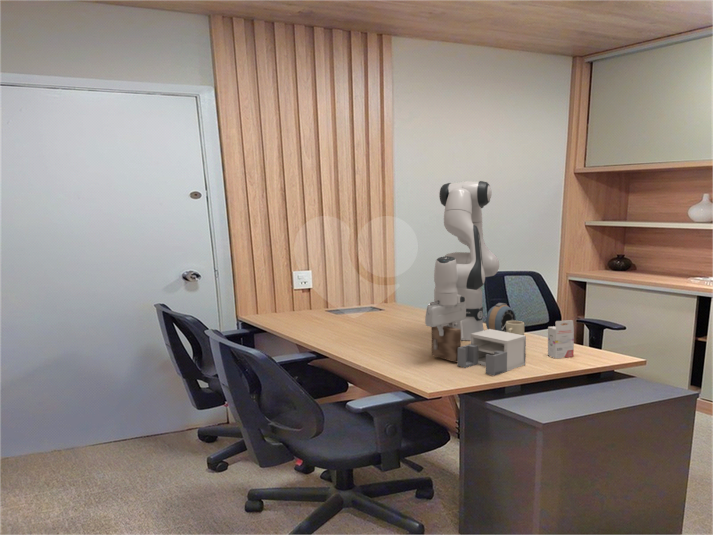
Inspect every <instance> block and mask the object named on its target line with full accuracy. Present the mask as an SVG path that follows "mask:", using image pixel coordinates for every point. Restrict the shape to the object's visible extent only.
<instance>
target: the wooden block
mask: <svg viewBox="0 0 713 535" xmlns="http://www.w3.org/2000/svg"><path fill="white" fill-rule="evenodd" d="M442 328H443V330H444V331H445V335H444V336H440V335H439V330H438V328H437V326H436V327H431V356H433V357H437V358H441V359H444V360H447V361H451V362H454V363H456V362H458V347H462V340H461V329H457V328H452V327H447V326H443V327H442Z"/></svg>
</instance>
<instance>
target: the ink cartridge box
mask: <svg viewBox="0 0 713 535" xmlns="http://www.w3.org/2000/svg"><path fill="white" fill-rule="evenodd" d="M563 324H564V325H563ZM574 335H575V328H574V319H570V320H566V319H565V320H556V321H555V326H554V325H553V326H548V327H547V356H548V355H549V356H548V357H550V356H551V358H553V357H554V358H553V359H555V358H557V359H563V358H562V357H566V358H573V357H574V347H575V346H574V343H575V337H574Z"/></svg>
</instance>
